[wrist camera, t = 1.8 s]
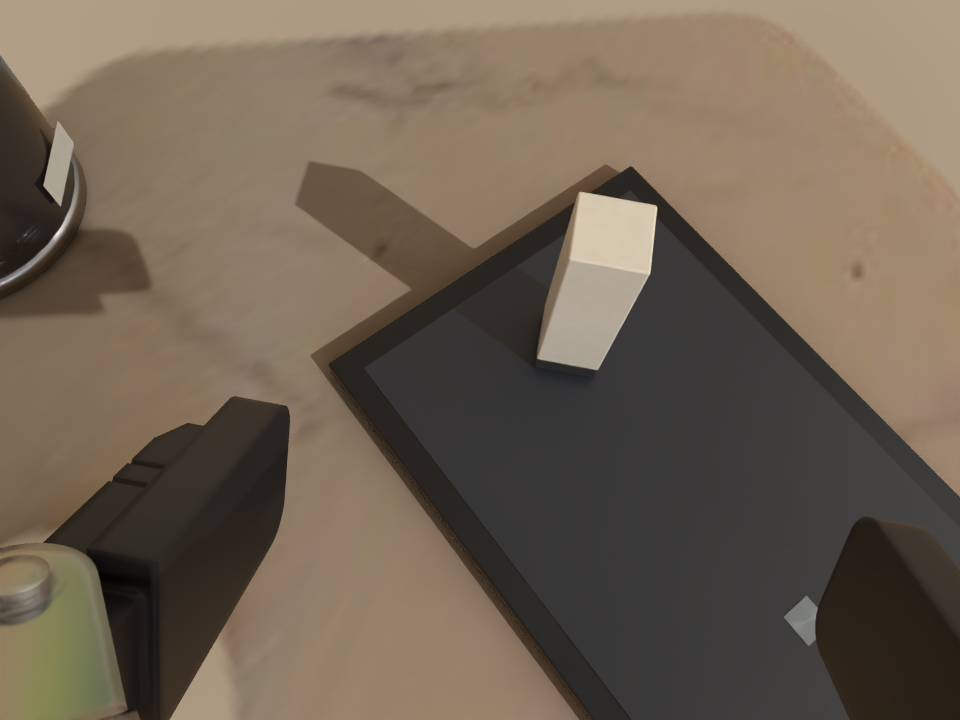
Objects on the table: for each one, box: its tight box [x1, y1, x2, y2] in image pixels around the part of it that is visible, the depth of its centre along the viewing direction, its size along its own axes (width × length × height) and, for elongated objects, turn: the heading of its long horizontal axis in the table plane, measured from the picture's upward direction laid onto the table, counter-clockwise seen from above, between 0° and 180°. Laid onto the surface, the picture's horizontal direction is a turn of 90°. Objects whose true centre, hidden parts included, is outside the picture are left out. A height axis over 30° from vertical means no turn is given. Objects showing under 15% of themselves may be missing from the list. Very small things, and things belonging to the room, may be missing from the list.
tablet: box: [329, 167, 960, 720], centre depth 28 cm, size 22×16×1 cm
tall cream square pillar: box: [534, 192, 657, 378], centre depth 25 cm, size 2×2×8 cm
